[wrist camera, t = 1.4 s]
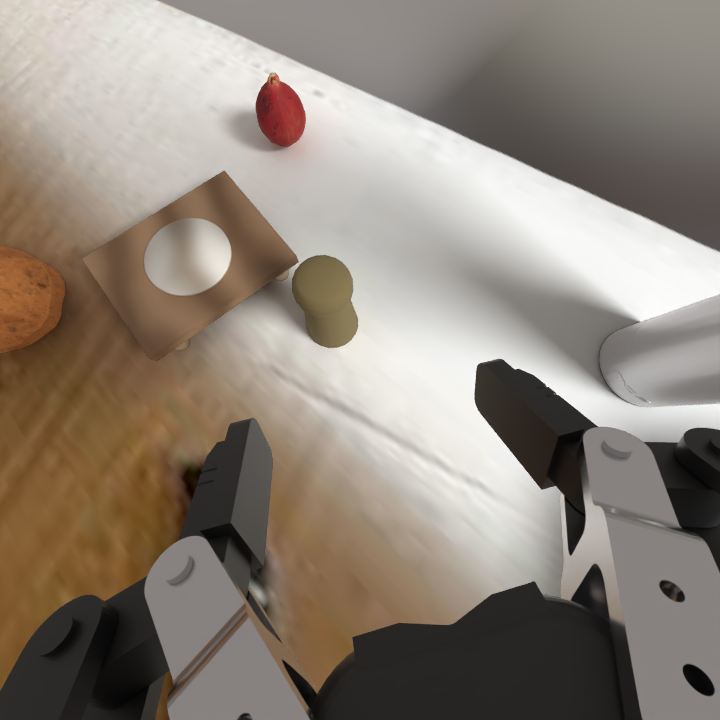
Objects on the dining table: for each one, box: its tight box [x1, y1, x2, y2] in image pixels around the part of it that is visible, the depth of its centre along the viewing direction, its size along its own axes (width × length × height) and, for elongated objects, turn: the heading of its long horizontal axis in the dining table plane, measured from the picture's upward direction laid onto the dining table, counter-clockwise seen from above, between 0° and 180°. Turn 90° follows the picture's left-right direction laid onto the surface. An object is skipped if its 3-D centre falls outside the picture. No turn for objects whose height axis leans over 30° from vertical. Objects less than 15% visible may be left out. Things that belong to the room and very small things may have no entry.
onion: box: [256, 73, 306, 146], centre depth 35 cm, size 6×6×8 cm
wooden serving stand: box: [82, 171, 298, 361], centre depth 33 cm, size 18×14×5 cm
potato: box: [0, 246, 66, 353], centre depth 30 cm, size 9×11×8 cm
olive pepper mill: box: [292, 255, 358, 348], centre depth 28 cm, size 6×6×11 cm
